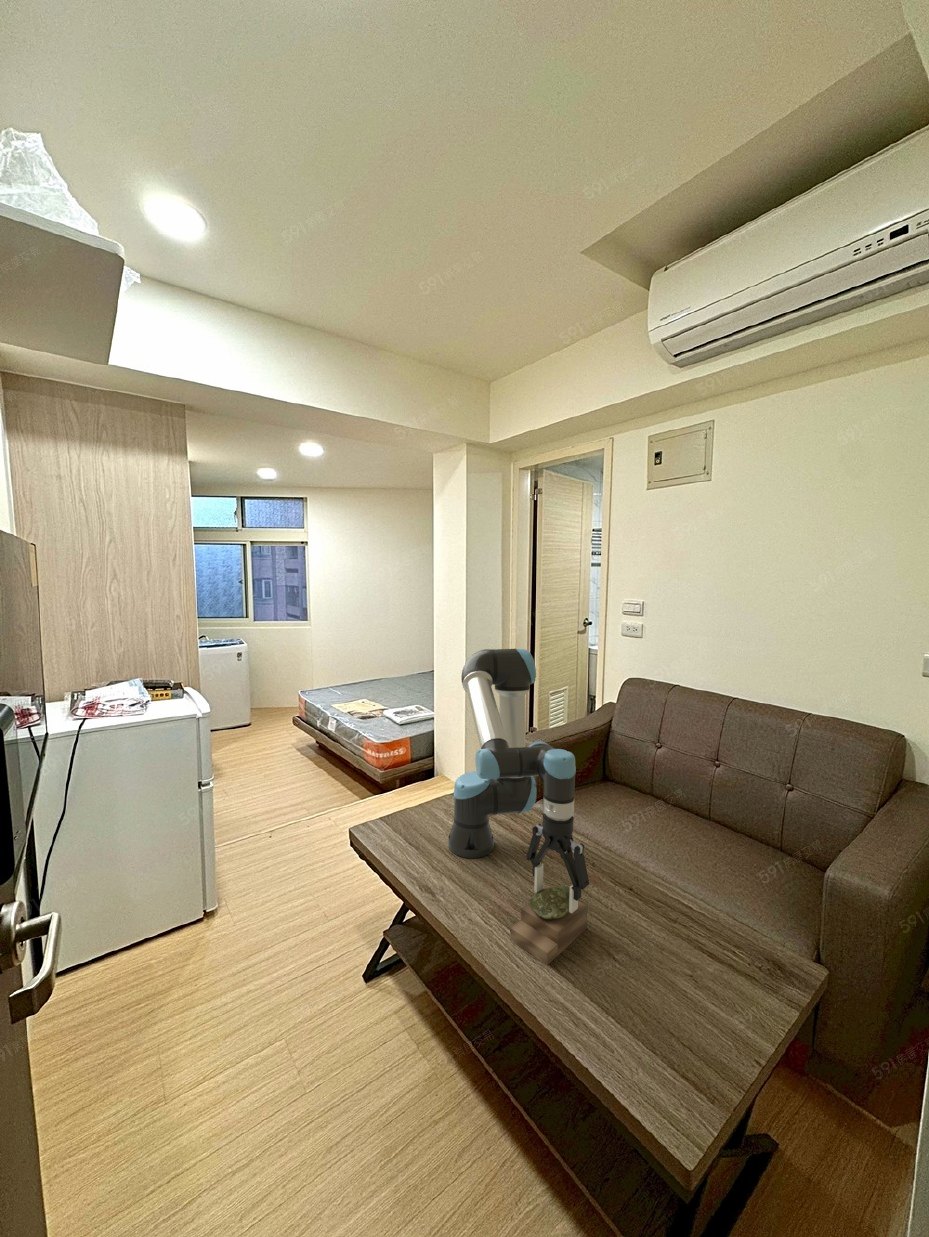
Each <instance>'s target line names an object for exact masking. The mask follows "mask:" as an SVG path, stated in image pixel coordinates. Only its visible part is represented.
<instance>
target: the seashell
mask: <svg viewBox="0 0 929 1237" xmlns="http://www.w3.org/2000/svg"><path fill="white" fill-rule="evenodd" d="M549 887H550V886H549ZM549 887H547V888H543V889H541V890H540V891H539V892H537V893H536V892H535V893H533V894H532V896H531V898H530V899H529V901H528V903H529V905H530V906H531V907H532V909H533V910H534V911H535V913H536V914H537V915H538V916H539V917H542V918H544V919H553V918H561V917H563V916H565V915H566V914H567V912H568V911H569V897H570V886H568V885H562V884H561V885H557V886H554V887H550V888H549Z"/></svg>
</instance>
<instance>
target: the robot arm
mask: <svg viewBox="0 0 929 1237" xmlns="http://www.w3.org/2000/svg"><path fill="white" fill-rule="evenodd" d="M460 677H461V684H462V688H463V690H464V691H465V692H466V693H467V697H468V700H469V704H470V708H471V712H472V717H473V718H472V719H473V721H474V725H475V730H476V734H477V738H478V742H479V748H480V749H478V750H477V751H476V753H475V759H474V760H475V769H476V771H468V772H465V773H463V774H461V775H460V776H459V777H457V778H456V779H455V782H454V788H453V823H452V826H451V828H450V832H449V835H448V838H447V847H448V849H449V851H450V852H451V853H453V854H454V855H456V856H458V857H461V858H466V859H478V858H482V857H485V856H487V855H490V853H492V852H493V850H494V848H495V838H494V837H495V836H494V835H493V832H492V828H491V825H490V816H494V815H495V816H497V815H509V814H510V815H511V814H518V815H519V814H523V813H528V812H530V811H531V810H532V809H533V808H534V806H535V803H536V801H537V800H536V799H537V787H536V785H537V782H536V779H535V777H539V778H541V780H542V781H543V791H542V796H543V797H542V798H543V800H542V812H543V813H542V824H541V823H538V824H536V825H534V826H533V827H532V830H531V831H532V835H531V840H530V844H529V846H528V850H527V853H526V857H525V858H526V860H527V861H528V862H529V861H530V863H531V865H532V877H534V884H533V885H534V888H533V891H534V892H535V893H537V892H539V891H540V890H542V889H544V863H542V862H543V859H544V858H545V857H546V855H547V854H548V852H549V850H551V851H554V852H556V853H557V854H559V856H560V858H561V860H563V863H564V866H565V867H566V868H565V869H566V871H567V873H568V877H569V879H570V882H571V885H570V886H569V887H570V897H569V912H570V913H571V914H572V913H573V912H574V911H575V910H576V909H578V901H580V899H581V898H582V890H584V889H586V888H587V887H588V886H590V879H589V874H588V870H587V869H588V868H587V865H586V859H585V844H584V843H583V842H580V843H578V842H575V841H574V839H573V832H574V820H575V819H574V818H575V817H574V814H575V791H576V790H575V786H576V773H577V770H576V769H577V766H576V757H575V755H574V753H573V752H571V751H567V749H566V750H565V749H561V748H554V747H552V745H550V744H548V743H546V742H544V741H540V740H539V741H535V742H533V743H531V744H530V745H529V746H526V695H527V693H528V692H529V691H530V690H531V688H530V687H531V685H532V684H534V683H535V682H536V681H537V680H536V678H537V669H536V664H535V660H534V657H533V655H532V654H531V652H530V651H529V650H528V649H525V648H497V649H496V648H495V649H493V648H492V649H490V648H485V649H481V650H478V651H476V652H475V653H473V654H472V655H471V656H470V657H469V658H468V659H467V660H466V661H465V663H464V665H463V669H462V670H461V676H460ZM492 686H494V690H495V692H496V693H498V695H499V697H498V698H499V702H498V703H499V707H498V705H497V702H496V698H495V694H494V692H493V691H494V690H493V689H492ZM498 708H499V709H498ZM542 836H543V838H544V842H543V844H541V847H540V849H538V848H539V846H540V842H541V839H542ZM538 850H539V851H538Z"/></svg>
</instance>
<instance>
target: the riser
mask: <svg viewBox="0 0 929 1237" xmlns="http://www.w3.org/2000/svg"><path fill="white" fill-rule="evenodd" d="M550 887H555V886H554V885H551V886H549V887H548V888H550ZM588 908H589V906H588V905H587V904H586V903H583V902H581V901H580V900H578V909H576V910H575V911H574V912H573V913H572V914H571V913H570V912H569V911H568V912H567V914H566V915H565V916H563V917H561V918H553V919H544V918H542V917H539V916H538V915H537V914H536V913H535V911H534V910H533V909H532V907H531V906H530V905H529V902H527V903H526V905H524V906H523V907H521V909H520V910H521V911H520V920H519V921H517V922H516V923H515V924H514V925H512V926H511V927H510V930H509V931H510V940H511V941H512V942H513V943H515V944H516V945H517V946H519V947H521V948H522V949H523V950H524V951H526V952H528V953H529V954H530V955H532V956H533V957H534V958H536V959H538V961H540V962H541V963H543V964H544V965H546V966H548V965H550V964H551V963H552V962H553V961H554V960H555V959H556V958H557V957H558V956H559V955H561V954H562V952H564V951H565V949H566V948H568V947H569V946H570V944H572V943H573V942H574V941H575V940H576V939H577V938H578V937H579V936H580V935H582V934H583V933H584V932H585V931H586V930H587V929H588V913H589V912H588V910H589V909H588Z"/></svg>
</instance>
